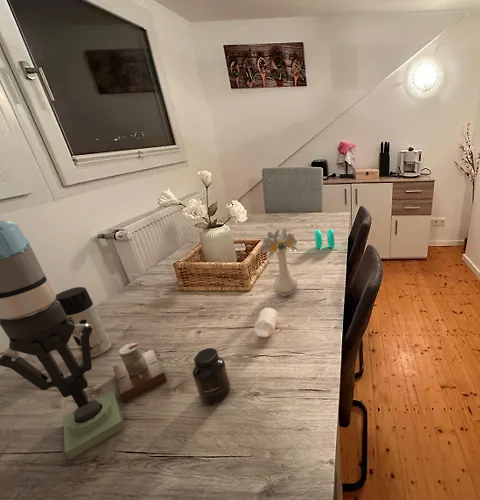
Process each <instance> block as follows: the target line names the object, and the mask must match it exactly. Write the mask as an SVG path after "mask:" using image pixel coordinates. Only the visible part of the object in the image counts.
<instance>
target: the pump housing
mask: <svg viewBox="0 0 480 500" xmlns="http://www.w3.org/2000/svg"><path fill="white" fill-rule="evenodd" d="M95 400H96V401H98V403H99V405H100V406H101V411H100V412H99V413H98V414H97V415H96V416H95V417H94V418H92V419H90V420H88V421H87V422H83V423H79V422H77V420H76V419H75V417H74V412H75V410H76V409H75V410H72V411H70V412H69V413H66V414H64V415H63V416H62V419H63V420H62V422H63V424H62V425H63V442H64V443H63V444H64V446H63V447H64V454H65V456H66V457H67V459H68V460H71V459H74V458H75V457H77V456H79V455H80V454H82V453H84V452H85V451H87V450H89V449H90V448H92V447H94V446H96V445H98V444H100V443H101V442H103V441H104V440H107V439H108V438H110V437H112V436H113V435H115V434H116V433H118V432H120V431H121V430H124V429H125V428H126V426H125V423H124V419H123V414H122V410H121V407H120V401H119V399H118V396H117V393H116V392H115V390H113V391H111V392H109V393H106V394H105V395H103V396H100V397H99V398H97V399H95Z"/></svg>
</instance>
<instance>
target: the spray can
mask: <svg viewBox="0 0 480 500" xmlns="http://www.w3.org/2000/svg"><path fill="white" fill-rule="evenodd" d="M55 295H56V299H55V300H58V301H59V302H60V304H61V306H62V308H63V310H64V312H65V314H66V316H67V317H68V318H69V319H70V320H72V321H74V323H75V324H84V323H86V322H90V323H91V324H92V332H91V335H90V337H89V342H90V353H91V359H94V358H97V357H99V356H102V355H103V354H105V353H107V352H108V351H109V350H110V349H111V347H112V342H111V340H110V336H108V333H107V331H106V329H105V327H104V324H103V322H102V320H101V318H100V316H99V314H98V311H97V309H96V306H95V305H94V302H93V300H92V298H91V296H90V294H89V292H88V289H87V288H86V287H83V286H76V287H72V288H69V289H66V290H63V291H61V292H59V293H57V294H55ZM71 337H72V338H73V340H74V341H75V344H76V345H77V348H78V349H79V352H80V353H81V354H82V349H81V339H80V336H78V335H77V333H76V331H73V333H72V335H71Z"/></svg>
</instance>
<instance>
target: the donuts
mask: <svg viewBox="0 0 480 500" xmlns="http://www.w3.org/2000/svg"><path fill="white" fill-rule="evenodd" d="M326 240H327V245H328V247H329V248H334V247H335V231H334V229H332V228H329V229H328V230H327V232H326ZM314 242H315V247H316V248H317V249H321V248H322V246H323V233H322V231H321V230H320V229H316V230H314Z"/></svg>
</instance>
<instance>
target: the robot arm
mask: <svg viewBox="0 0 480 500" xmlns="http://www.w3.org/2000/svg"><path fill="white" fill-rule="evenodd" d="M56 295H57V294H56V293H55V291H54V289H53V287H52V285H51V284H50V282H49V279H48V278H47V276H46V274H45V272H44V270H43V269H42V266H41V264H40V262H39V260H38V259H37V256H36V254H35V252H34V250H33V248H32V246H31V243H30V241H29V239H28V238H27V237H26V236H25V235H24V233H23V231H22V230H21V228H20V226H19V225H18V224H16V223H15V222H13V221H9V220H0V327H1V329H2V331H3V332H4V333H5V335H6V336H7V337H8V339H9V344H8V348H7V349H6V350H4V351H2V352H0V367H4V368H8V369H11V370H12V371H14V372H15V373H17V374H18V375H19V376H21V377H22V378H24V379H25V380H26V381H28V382H29V383H31V384H32V385H34V386H35V387H36V388H38V389H39V390H40V391H47V390H49V389H50V388H56V389H58V392H59V393H60V394H61V396H62V397H63V398H65V399H66V398H68V397H70V396H71V398H72V399H73V401H74V402H75V404H76V406H77V408H80V407H82V406H84V405H86V404H88V401H89V400H88V395H87V392H86V390H85V389H87V388H88V386H89V384H88V379H87V378H86V376H85V373H87V372H90V371H91V370H92V368H93V363H92V358H91V353H90V342H89V337H90V335H91V332H92V324H91V323H90V322H86V323H84V324H75V323H74V321H72V320H70V319H69V318H68V317H67V316H66V314H65V312H64V310H63V308H62V306H61V304H60V302H59V301H58V300H55V299H56ZM73 331H76V333H77V335H78V336H80V339H81V349H82V353H81V359H82V363H81V364H79V363H78V360H77V359H76V357H75V355H74V354H73V351H72V350H71V348H70V346H69V344H68V343H69V342H70V339H71V338H72V333H73ZM53 351H56V352H57V354H58V355H60V358H61V359H62V361H63V363H64V364H65V366H66V368H67V369H68V372H69V373H70V375H68V376H65V374H64V373H63V371H62V370H61V368H60V366H59V365H58V363H57V361H56V360H55V358H54V357H53V355H52V352H53ZM20 353H21V354H22V353H23V354H26V355H31V356H35V357H36V359H37V360H38V361H39V363H41V365H42V366H43V368H44V370H45V372H46V373H47V374H48V375H46V374H45V373H43V372H42V371H41V370H39V369H38V368H36V367H35V366H34V365H33V364H31V363H30V362H29V361H28V360H26V359H25V358H23V357H22V356H21V355H20Z"/></svg>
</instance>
